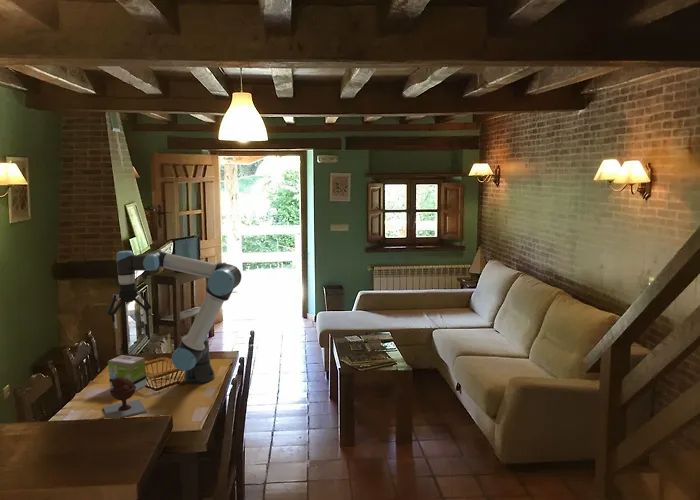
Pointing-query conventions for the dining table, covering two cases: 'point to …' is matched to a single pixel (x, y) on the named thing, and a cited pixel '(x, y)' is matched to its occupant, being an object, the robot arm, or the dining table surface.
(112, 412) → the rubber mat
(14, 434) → the dining table surface
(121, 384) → the ice cream bowl
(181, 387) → the dining table surface
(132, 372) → the tea box
